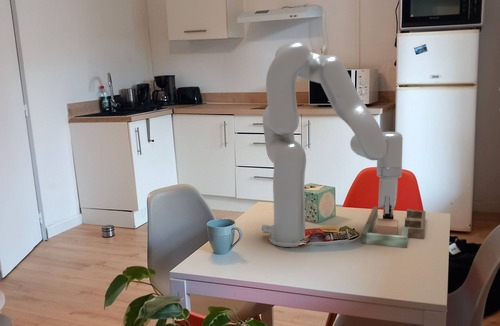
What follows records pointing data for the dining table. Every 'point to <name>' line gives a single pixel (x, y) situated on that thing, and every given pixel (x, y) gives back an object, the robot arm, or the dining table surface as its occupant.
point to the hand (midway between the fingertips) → (387, 227)
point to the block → (387, 226)
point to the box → (411, 230)
